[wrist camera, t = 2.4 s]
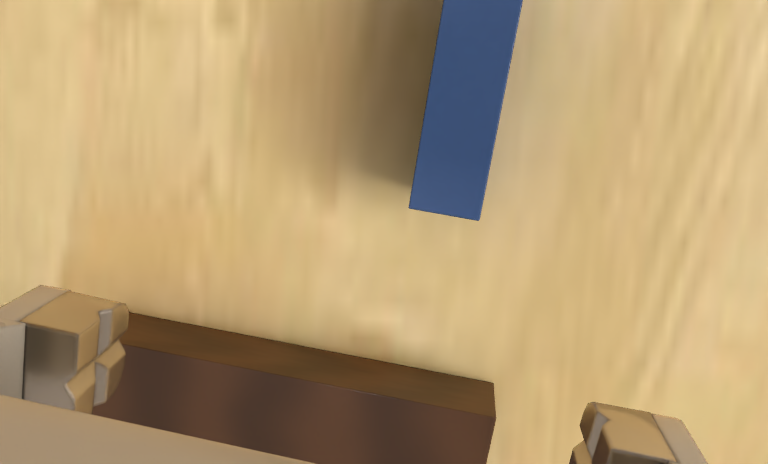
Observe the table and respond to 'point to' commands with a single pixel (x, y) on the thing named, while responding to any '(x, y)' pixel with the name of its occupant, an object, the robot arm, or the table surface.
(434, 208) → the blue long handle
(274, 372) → the chopping board
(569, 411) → the table surface
